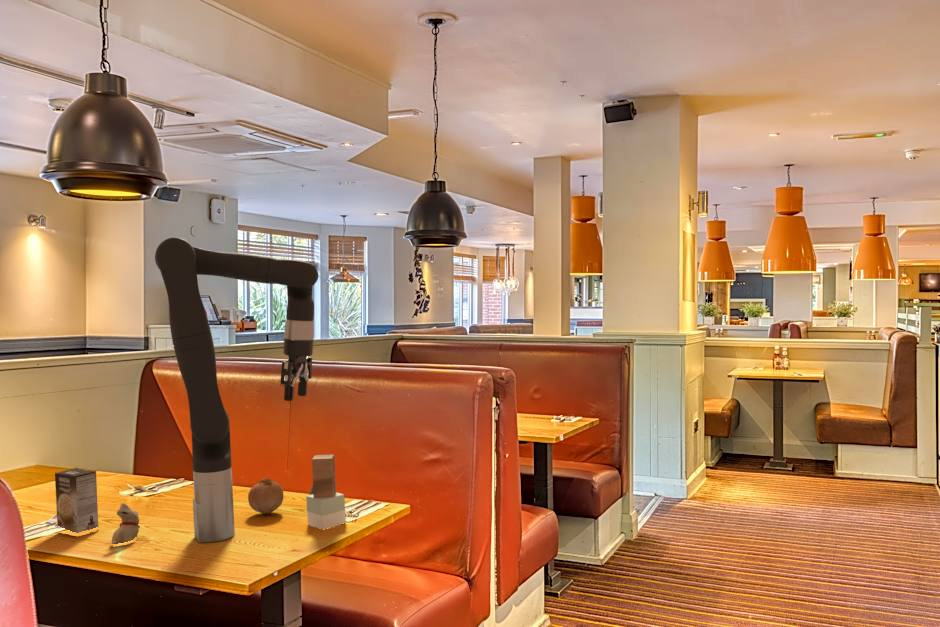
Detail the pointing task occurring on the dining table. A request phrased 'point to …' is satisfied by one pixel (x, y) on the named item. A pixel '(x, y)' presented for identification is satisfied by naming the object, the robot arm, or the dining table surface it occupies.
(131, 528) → the chocolate bunny
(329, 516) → the tower base
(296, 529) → the dining table surface
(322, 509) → the tower mid
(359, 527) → the dining table surface
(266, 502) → the onion
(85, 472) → the coffee box
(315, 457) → the column
